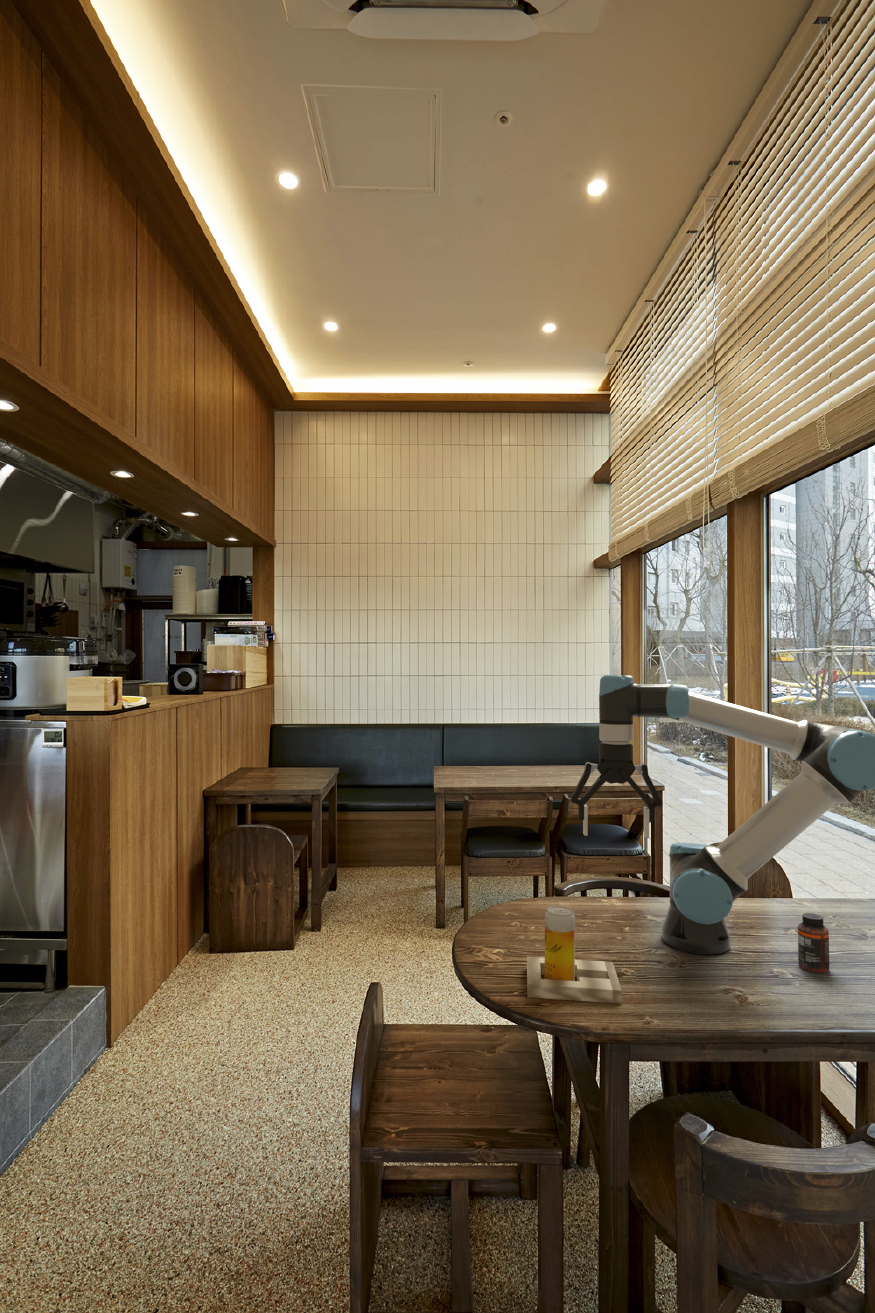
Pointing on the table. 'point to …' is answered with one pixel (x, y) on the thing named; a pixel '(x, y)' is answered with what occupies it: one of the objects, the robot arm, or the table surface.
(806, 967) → the supplement bottle
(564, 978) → the beer can
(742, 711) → the robot arm
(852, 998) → the table surface
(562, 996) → the keyhole plate
